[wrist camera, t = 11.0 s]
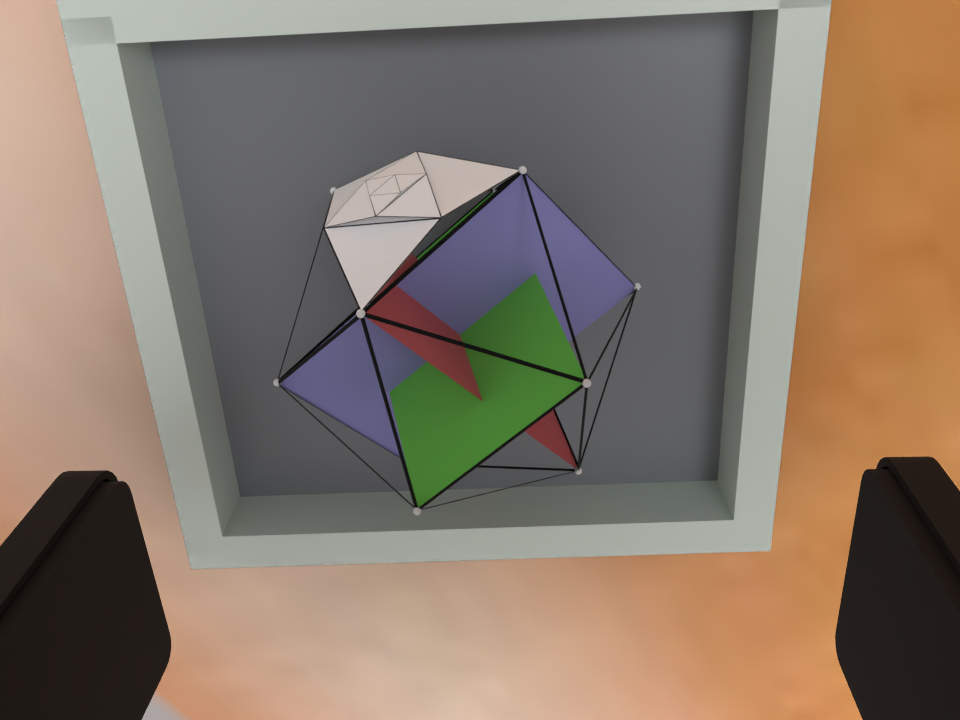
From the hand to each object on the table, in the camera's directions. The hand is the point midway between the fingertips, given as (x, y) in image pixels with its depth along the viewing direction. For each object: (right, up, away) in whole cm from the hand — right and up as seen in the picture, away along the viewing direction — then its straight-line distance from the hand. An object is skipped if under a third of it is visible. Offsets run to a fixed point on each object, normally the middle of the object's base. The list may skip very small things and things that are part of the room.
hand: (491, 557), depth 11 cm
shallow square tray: (0, +5, +11) cm, 12 cm away
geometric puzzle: (0, +5, +10) cm, 11 cm away
